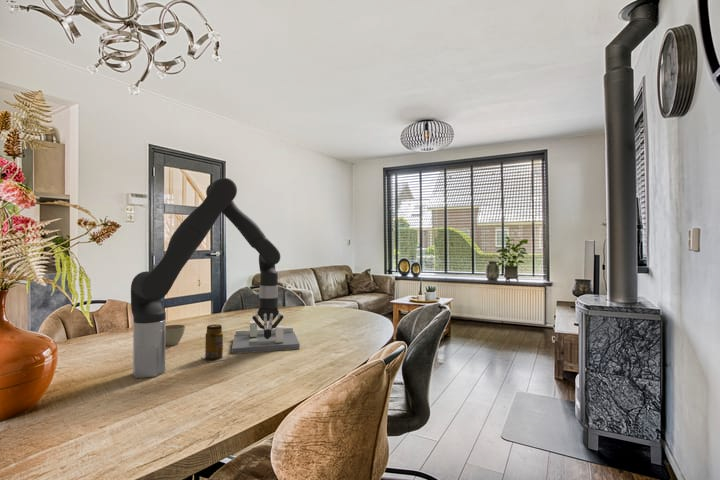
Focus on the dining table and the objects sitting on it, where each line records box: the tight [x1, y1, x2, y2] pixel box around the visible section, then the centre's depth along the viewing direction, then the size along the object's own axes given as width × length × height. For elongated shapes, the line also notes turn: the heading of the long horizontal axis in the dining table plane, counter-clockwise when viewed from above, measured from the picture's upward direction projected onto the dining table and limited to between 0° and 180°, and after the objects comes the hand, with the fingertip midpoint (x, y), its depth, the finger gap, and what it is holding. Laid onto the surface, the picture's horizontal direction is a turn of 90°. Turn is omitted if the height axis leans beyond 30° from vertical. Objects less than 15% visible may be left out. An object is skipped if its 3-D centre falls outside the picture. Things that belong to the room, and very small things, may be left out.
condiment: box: [200, 323, 229, 363], centre depth 139 cm, size 7×8×12 cm
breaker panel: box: [231, 326, 301, 355], centre depth 158 cm, size 22×26×4 cm
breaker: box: [249, 320, 258, 337], centre depth 163 cm, size 4×3×6 cm
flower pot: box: [165, 324, 186, 346], centre depth 157 cm, size 10×10×7 cm
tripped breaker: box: [275, 324, 284, 343], centre depth 154 cm, size 4×3×6 cm
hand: (267, 338), depth 153 cm, fingers closed
